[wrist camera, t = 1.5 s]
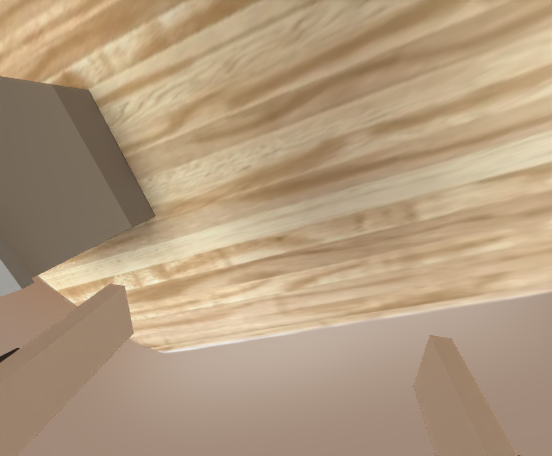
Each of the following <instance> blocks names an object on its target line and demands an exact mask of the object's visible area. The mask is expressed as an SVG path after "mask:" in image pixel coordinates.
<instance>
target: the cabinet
mask: <svg viewBox="0 0 552 456" xmlns="http://www.w3.org/2000/svg"><path fill="white" fill-rule="evenodd" d="M154 216H155V214H154V213H153V211H152V209H151V207H150V205H149V203H148V201H147V199H146V198H145V196H144V194H143V192H142V190H141V188H140V186H139V184H138V182H137V181H136V179H135V177H134V175H133V173H132V171H131V169H130V167H129V165H128V164H127V162H126V160H125V158H124V156H123V154H122V152H121V150H120V148H119V147H118V145H117V143H116V141H115V139H114V137H113V135H112V133H111V131H110V130H109V128H108V126H107V124H106V122H105V120H104V118H103V116H102V114H101V113H100V111H99V109H98V107H97V105H96V103H95V101H94V99H93V98H92V96H91V94H90V92H89V90H84V89H78V88H72V87H65V86H59V85H52V84H46V83H40V82H33V81H27V80H20V79H14V78H8V77H1V76H0V296H3V295H6V294H9V293H12V292H14V291H18V290H20V289H23V288H25V287H27V286H29V285H31V284H33V283H34V281H33V280H32V278H33V277H35V276H37V275H39V274H41V273H43V272H45V271H47V270H49V269H51V268H53V267H55V266H57V265H59V264H61V263H63V262H65V261H67V260H69V259H71V258H73V257H75V256H77V255H78V254H80V253H82V252H84V251H86V250H88V249H90V248H92V247H94V246H96V245H98V244H100V243H102V242H104V241H106V240H108V239H110V238H112V237H114V236H116V235H118V234H120V233H122V232H124V231H126V230H128V229H130V228H132V227H134V226H136V225H138V224H140V223H142V222H144V221H146V220H148V219H150V218H152V217H154Z"/></svg>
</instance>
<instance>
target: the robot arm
mask: <svg viewBox="0 0 552 456" xmlns="http://www.w3.org/2000/svg"><path fill="white" fill-rule="evenodd" d="M133 333H134V332H133V327H132V321H131V316H130V311H129V306H128V301H127V296H126V290H125V286H121V285H115V284H109V285H108V286H106V287H105V288H103V289H102V290H101V291H99V292H98V293H96V294H95V295H94V296H92V297H91V298H90V299H88V300H87V301H85V302H84V303H83V304H81V305H80V306H78V307H77V308H76V309H74V310H73V311H72V312H70V313H69V314H67V315H66V316H65V317H63V318H62V319H60V320H59V321H58V322H56V323H55V324H53V325H52V326H51V327H49V328H48V329H46V330H45V331H44V332H42V333H41V334H40V335H38V336H37V337H35V338H34V339H33V340H31V341H30V342H28V343H27V344H26V345H24V346H23V347H22V348H16V349H14V350H12V351H10V352H8V353H6V354H4V355H2V356H0V456H18V455H19V454H20V453H21V452H22V451H23V450H24V449H25V448H26V446H27V445H28V444H29V443H30V442H31V441H32V440H33V439H34V438H35V437H36V436H37V435H38V434H39V433H40V432H41V431H42V430H43V428H44V427H45V426H46V425H47V424H48V423H49V422H50V421H51V420H52V419H53V418H54V417H55V416H56V415H57V414H58V413H59V412H60V411H61V409H62V408H63V407H64V406H65V405H66V404H67V403H68V402H69V401H70V400H71V399H72V398H73V397H74V396H75V395H76V394H77V392H78V391H79V390H80V389H81V388H82V387H83V386H84V385H85V384H86V383H87V382H88V381H89V380H90V379H91V378H92V377H93V376H94V374H95V373H96V372H97V371H98V370H99V369H100V368H101V367H102V366H103V365H104V364H105V363H106V362H107V361H108V360H109V359H110V358H111V357H112V355H113V354H114V353H115V352H116V351H117V350H118V349H119V348H120V347H121V346H122V345H123V343H125V342H126V341H127V340H128V339H129V337H130V336H131V335H132V334H133ZM413 387H414V390H415V393H416V396H417V400H418V403H419V406H420V409H421V412H422V415H423V419H424V422H425V425H426V428H427V432H428V434H429V438H430V441H431V444H432V447H433V450H434V454H435V456H519V455H517V454H516V451H515V450H514V448H513V446H512V445H511V443H510V441H509V439H508V437H507V436H506V434H505V432H504V430H503V428H502V427H501V425H500V423H499V421H498V420H497V418H496V416H495V414H494V413H493V411H492V409H491V408H490V406H489V404H488V403H487V400H486V398H485V397H484V395H483V393H482V391H481V390H480V388H479V386H478V384H477V383H476V381H475V379H474V377H473V376H472V374H471V372H470V370H469V369H468V367H467V365H466V363H465V361H464V360H463V358H462V356H461V354H460V353H459V351H458V349H457V347H456V346H455V344H454V342H453V340H452V339H450V338H444V337H438V336H432V335H430V337H429V340H428V343H427V346H426V349H425V352H424V355H423V358H422V361H421V364H420V367H419V370H418V373H417V376H416V379H415V382H414V385H413Z"/></svg>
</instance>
